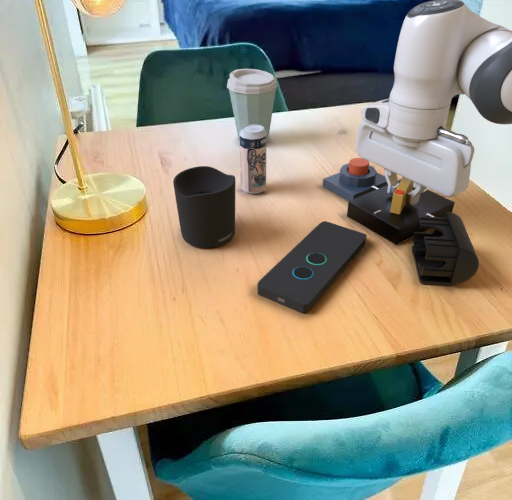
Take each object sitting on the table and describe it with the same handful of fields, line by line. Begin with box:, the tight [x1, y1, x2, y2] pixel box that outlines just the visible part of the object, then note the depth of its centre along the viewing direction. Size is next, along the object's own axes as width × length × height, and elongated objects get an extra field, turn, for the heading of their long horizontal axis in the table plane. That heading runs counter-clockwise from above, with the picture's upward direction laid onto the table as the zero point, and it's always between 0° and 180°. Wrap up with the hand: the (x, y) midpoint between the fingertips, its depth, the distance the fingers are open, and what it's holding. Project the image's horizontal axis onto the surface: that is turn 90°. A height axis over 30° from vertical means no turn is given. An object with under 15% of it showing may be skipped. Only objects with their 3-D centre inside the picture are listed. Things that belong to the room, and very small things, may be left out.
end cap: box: [411, 211, 480, 287], centre depth 73 cm, size 10×7×7 cm
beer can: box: [239, 124, 267, 195], centre depth 92 cm, size 5×5×12 cm
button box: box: [322, 162, 388, 201], centre depth 95 cm, size 10×8×4 cm
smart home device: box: [257, 220, 368, 314], centre depth 75 cm, size 8×2×20 cm
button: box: [348, 157, 370, 176], centre depth 93 cm, size 4×4×2 cm
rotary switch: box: [346, 178, 456, 246], centre depth 86 cm, size 14×13×3 cm
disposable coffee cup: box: [226, 68, 278, 144], centre depth 109 cm, size 11×11×15 cm
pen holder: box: [172, 165, 236, 249], centre depth 80 cm, size 9×9×10 cm
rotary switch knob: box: [390, 176, 414, 215], centre depth 84 cm, size 9×2×4 cm, turn 153°
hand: (402, 198), depth 85 cm, fingers closed on rotary switch knob, 2 cm apart
